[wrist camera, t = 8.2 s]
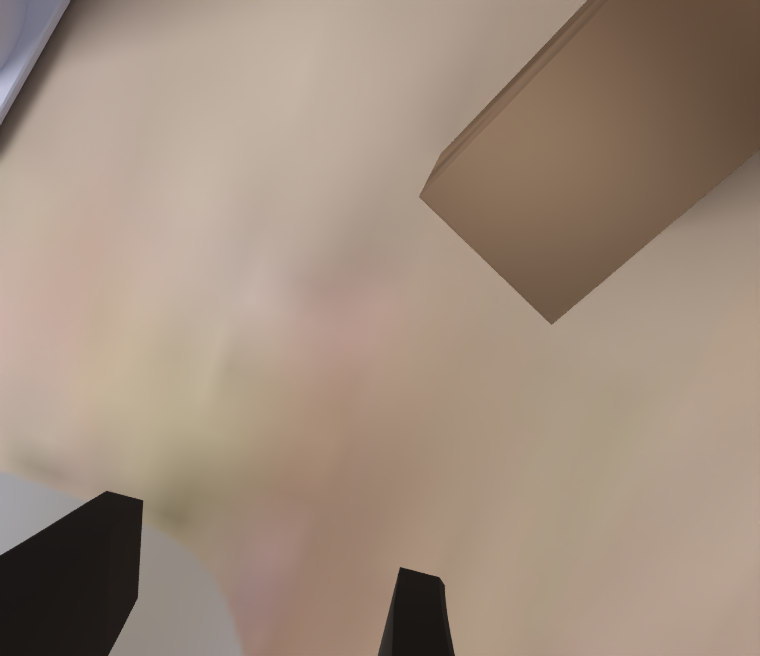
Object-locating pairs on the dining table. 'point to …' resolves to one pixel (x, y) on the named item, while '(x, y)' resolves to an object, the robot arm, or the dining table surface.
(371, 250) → the dining table surface
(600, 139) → the slat
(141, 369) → the dining table surface
